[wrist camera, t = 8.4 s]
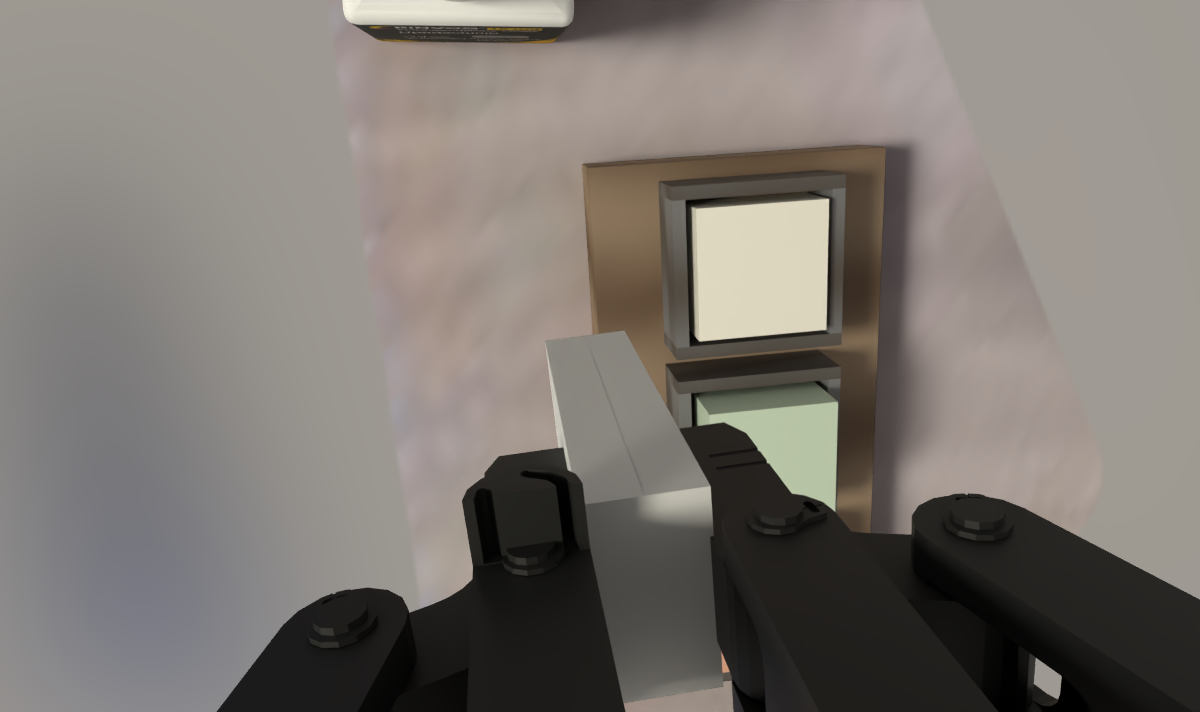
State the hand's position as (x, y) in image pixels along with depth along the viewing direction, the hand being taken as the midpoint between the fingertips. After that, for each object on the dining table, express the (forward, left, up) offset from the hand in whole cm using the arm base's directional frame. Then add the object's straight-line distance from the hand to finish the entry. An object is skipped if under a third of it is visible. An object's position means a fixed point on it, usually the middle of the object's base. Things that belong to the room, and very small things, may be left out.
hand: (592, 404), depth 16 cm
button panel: (+8, +8, -20) cm, 23 cm away
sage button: (+8, +8, -16) cm, 20 cm away
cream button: (+1, +8, -17) cm, 19 cm away
